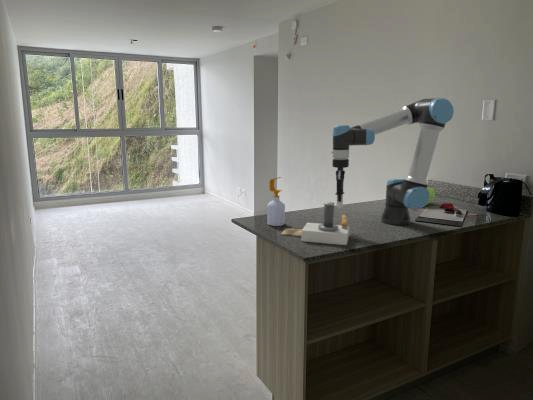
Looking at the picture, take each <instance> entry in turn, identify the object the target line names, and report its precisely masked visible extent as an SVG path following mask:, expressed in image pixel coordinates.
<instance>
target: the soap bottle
mask: <svg viewBox="0 0 533 400" xmlns="http://www.w3.org/2000/svg"><path fill="white" fill-rule="evenodd" d="M280 178H282V177H281V176H279V177H275V178H271V179H270V180H269V192H273V194H274V195H273V196H272V200H270V202H268V203H267V208H266V209H267V210H266V211H267V212H266V218H267V219H266V220H267V221H266V224H267V225H268V226H270V225H271V227H282V226H284V225H285V223H286V222H285V217H286V216H285V215H286V213H285V212H286V205H285V203H284V202H283V201H281V200H280V195H279V193H280V192H283V191H282V190H281V189H277V188H275V181H276V180H277V179H280Z"/></svg>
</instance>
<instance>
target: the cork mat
mask: <svg viewBox="0 0 533 400" xmlns="http://www.w3.org/2000/svg"><path fill="white" fill-rule="evenodd" d="M302 229H303V228H302ZM302 229H301V228H291V227H285V229H283V231H281V234H280V235H281V236H292V237H302Z"/></svg>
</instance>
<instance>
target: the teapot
mask: <svg viewBox="0 0 533 400" xmlns="http://www.w3.org/2000/svg"><path fill="white" fill-rule="evenodd" d="M426 181H427V180H426ZM427 183H428V181H427ZM428 184H429V183H428ZM427 190H428V193H429V201H428V203H427V204H426V205H425V206H428V205H429V204H430V203H431V201H433V200H434V199H436V196H437V195H436V191H435V188H434V187H429V186H428V187H427Z"/></svg>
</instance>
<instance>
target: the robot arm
mask: <svg viewBox="0 0 533 400" xmlns="http://www.w3.org/2000/svg"><path fill="white" fill-rule="evenodd" d="M453 116H454V106H453V104H452V103H451V101H450V100H449V99H447V98H444V97H435V98H423V99H420V100H418V101H415V102H412V103H410V104H407V105H404V106H402V107H401V109H399V110H397V111H393V112H391V113H389V114H388V113H387V114H385V115H383V116H380V117H377V118H374V119H371V120H368V121H366V122H362V123H360V124H358V125H354V126H352V127H350V125H348V124H338V125H336V124H335V125H334V126H333V130H332V151H331V152H330V153H331V154H332V168H337V170H336V171H335V179H336V193H334V194H335V195H336V209H343V207H344V206H343V204H344V203H343V202H344V201H343V199H344V195H345V192H344V180H345V174H346V170H344V169H345V168H348V167H349V166H350V164H349V163H350V159H349V158H350V146H371V145H373V144H374V142H375V138H376V137H375V136H376V135H378V134H382V133H384V132H387V131H390V130H393V129H396V128H399V127H401V126H404V125H408V126H410V125H414V124H418V125H419V127H420V131H419V134H418V135H419V136H418V138H417V143H416V146H415V149H414V153H413V158H412V160H411V164H410V168H409V172H408V174H407V176H406V177H404V178H397V179H396V178H393V179H392V178H391V179H388V180H387V181H386V191H385V205H384V207H383V211H382V213H381V216H380V221H381V222H382V223H383V224H384V223H385V224H388V225H395V226H407V225H409V224H411V220H412V217H411V215H410V211H409V209H410V210H416V211H417V210H421V209H422V208H424V207H426V206H427V205H426V204H427V203H428V201H429V193H428V190H427V187H428V188H429V183H427V178H428V174H429V171H430V167H431V164H432V161H433V158H434V153H435V149H436V146H437V142H438V139H439V136H440V132H441V131H444V129H445V126H446V124H447V123H449V121H451V120H452V118H453Z"/></svg>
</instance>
